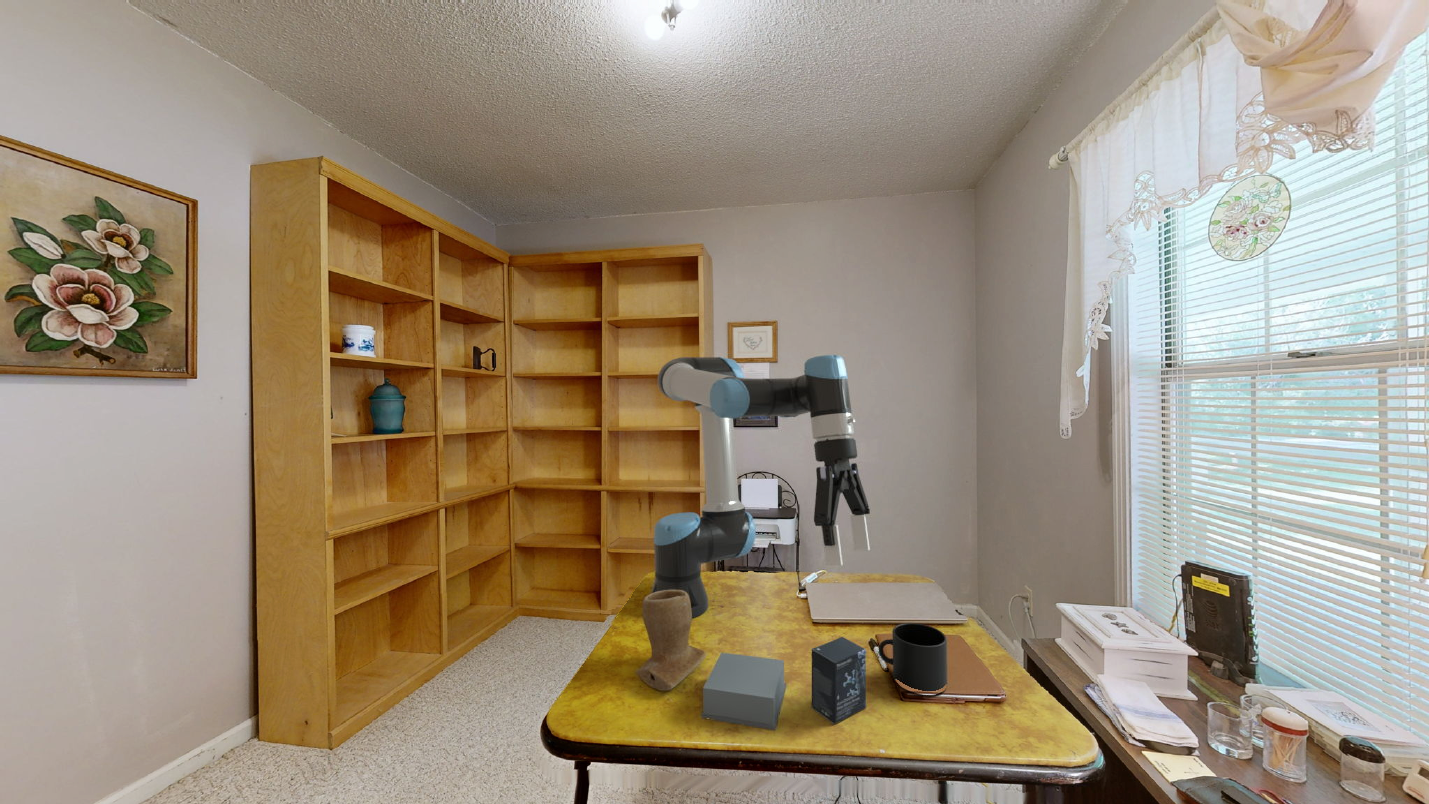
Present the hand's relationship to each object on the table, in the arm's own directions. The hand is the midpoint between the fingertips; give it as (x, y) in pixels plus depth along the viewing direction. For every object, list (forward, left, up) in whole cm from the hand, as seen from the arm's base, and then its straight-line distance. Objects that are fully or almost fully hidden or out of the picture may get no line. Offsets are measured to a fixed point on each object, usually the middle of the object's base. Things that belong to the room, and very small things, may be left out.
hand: (849, 557), depth 90 cm
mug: (-8, +11, -25) cm, 29 cm away
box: (+4, -2, -25) cm, 26 cm away
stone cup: (0, -35, -25) cm, 43 cm away
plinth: (+6, -18, -25) cm, 31 cm away
